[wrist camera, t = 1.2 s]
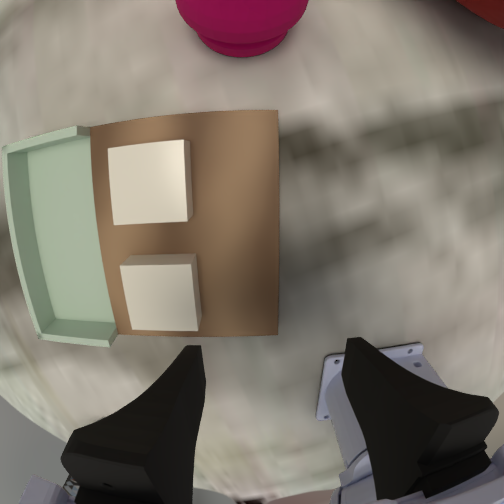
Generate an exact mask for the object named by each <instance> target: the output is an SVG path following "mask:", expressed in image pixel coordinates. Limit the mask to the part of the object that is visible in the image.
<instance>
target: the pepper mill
mask: <svg viewBox="0 0 504 504" xmlns="http://www.w3.org/2000/svg"><path fill="white" fill-rule="evenodd" d="M176 4H177V8H178V10H179V13H180V15H181V16H182V18H183V19H184V21H185V22H186V23H187V24H188V25H189V26H190V27H191V28H193V29H194V30H195V31H196V32H197V33H198V36H199V37H200V39H201V40H202V41H203V42H204V43H205V44H206V45H207V46H208V47H209V48H211V49H212V50H214V51H216V52H218V53H221V54H224V55H227V56H232V57H251V56H256V55H260V54H263V53H265V52H267V51H269V50H271V49H273V48H274V47H276V46H277V45H278V44H279V43H280V42H281V41H282V40H283V39H284V37H285V36H286V34H287V32H288V30H289V29H290V28H292V27H293V26H294V25H295V24H296V23H297V22H298V21H299V19H300V18H301V17H302V15H303V13H304V12H305V10H306V7H307V4H308V0H176Z"/></svg>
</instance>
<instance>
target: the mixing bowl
mask: <svg viewBox="0 0 504 504" xmlns="http://www.w3.org/2000/svg"><path fill="white" fill-rule="evenodd" d="M456 1H457V2H459V3H460V4H462V5H463V6H464V7H466V8H467V9H469V10H470V11H472V12H473V13H475V14H476V15H478V16H480V17H481V18H483V19H485V20H486V21H488V22H490V23H492V24H494V25H496V26H498V27H500V28H503V29H504V0H456Z"/></svg>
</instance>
